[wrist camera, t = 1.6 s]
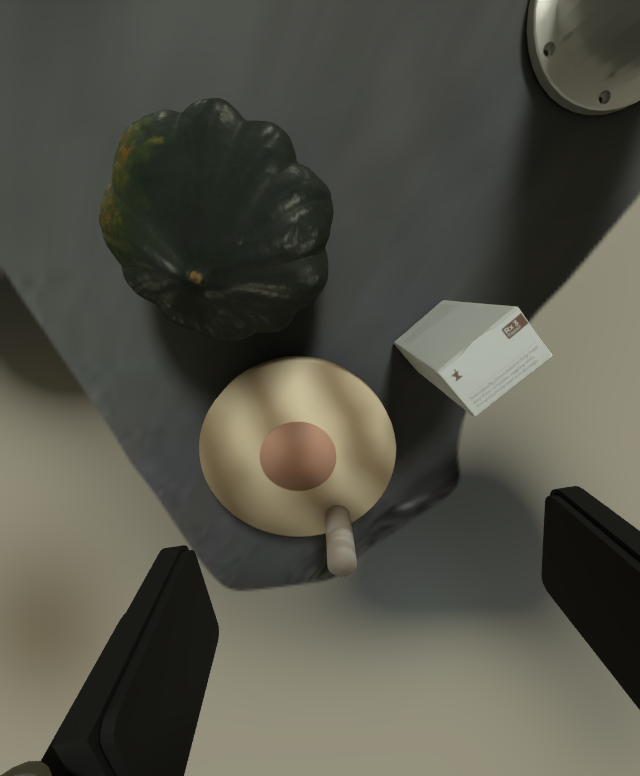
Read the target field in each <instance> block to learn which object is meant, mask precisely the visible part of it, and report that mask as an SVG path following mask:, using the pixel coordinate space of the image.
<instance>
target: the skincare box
mask: <svg viewBox="0 0 640 776" xmlns="http://www.w3.org/2000/svg"><path fill="white" fill-rule="evenodd" d="M394 345H395V346H396V347H397V348H398V349H399V351H400V352H401V353H402V354H403V355H404V357H405V358H406V359H407V360H408V361H409V362H410V364H411V365H412V366H413V367H414V368H415V369H416V370H417V372H418V373H420V374H421V375H423V376H424V377H425V378H426V379H428V380H429V381H430V382H431V383H432V384H434V385H435V386H436V387H437V388H439V389H440V390H441V391H442V392H443V393H445V394H446V395H447V396H448V397H450V398H451V399H452V400H453V401H454V402H456V403H457V404H458V405H460V406H461V407H462V408H463V409H464V410H466V411H467V412H468V413H469V414H471V415H472V416H474V417H475V416H477V415H478V414H480V413H481V412H482V411H484V410H485V409H486V408H487V407H489V406H490V405H491V404H492V403H494V402H495V401H496V400H497V399H499V398H500V397H501V396H503V395H504V394H505V393H506V392H508V391H509V390H510V389H511V388H512V387H514V386H515V385H516V384H518V383H519V382H520V381H522V380H523V379H524V378H525V377H527V376H528V375H529V374H531V373H532V372H533V371H534V370H536V369H537V368H538V367H540V366H541V365H542V364H543V363H545V362H546V361H547V360H548V359H550V358H551V357H552V356H553V355H552V353H551V352H550V351H549V349H548V348H547V346H546V345H545V344H544V342H543V341H542V340H541V338H540V337H539V336H538V334H537V333H536V332H535V330H534V329H533V327H532V326H531V325H530V323H529V322H528V320H527V319H526V318H525V316H524V315H523V313H522V312H521V310H520V309H519V308H518V307H516V306H504V305H491V304H480V303H469V302H457V301H446V300H443V301H441V302H440V303H439V304H438V305H437V306H436V307H434V308H433V309H432V310H431V311H430V312H429V313H427V314H426V315H425V316H424V317H423V318H422V319H420V320H419V321H418V322H417V323H416V324H415V325H413V326H412V327H411V328H410V329H409V330H408V331H407V332H405V333H404V334H403V335H402V336H401V337H399V338H398V339H397V340H396V341H395V342H394Z"/></svg>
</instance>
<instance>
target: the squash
mask: <svg viewBox="0 0 640 776" xmlns="http://www.w3.org/2000/svg"><path fill="white" fill-rule="evenodd" d="M333 212H334V211H333V204H332V200H331V193H330V191H329V189H328V187H327V185H326V184H325V183H324V182H323V181H322V180H321V179H320V178H318V177H317V176H316V174H315V173H313V172H312V171H311V170H310V169H309V168H308V167H305V166H303V165H301V164H299V163H298V162H297V160H296V154H295V151H294V148H293V145H292V142H291V140H290V137H289V136H288V134H287V133H286V132H285V131H284V130H283V129H281V128H280V127H279V126H278V125H276V124H274V123H271V122H266V121H246V120H245V119H244V118H243V117H242V116H241V114H240V113H239V112H238V111H237V110H236V109H235V108H234V107H233V106H232V105H231V104H230V103H228V102H227V101H225V100H223V99H220V98H211V99H204V100H200V101H197V102H195V103H193V104H191V105H190V106H189V107H187V108H186V109H185V110H184V111H183V112H182V113H179V112H176V111H172V110H163V111H159V112H155V113H151V114H149V115H146V116H144V117H143V118H142V119H140V120H138V121H136V122H134V123H132V124H131V125H130V126H129V127H128V128H127V129H126V130H125V131H124V133H123V134H122V136H121V139H120V142H119V145H118V148H117V151H116V154H115V159H114V163H113V173H112V182H111V183H110V185H109V186H108V187H107V189H106V190H105V193H104V196H103V200H102V202H101V204H100V208H99V223H100V226H101V228H102V236H103V238H104V240H105V243H106V245H107V247H108V248H109V249H110V251H111V252H112V254H113V255H114V256H115V258H116V259H117V260H118V262H119V263H120V264H121V266H122V271H123V275H124V277H125V280H126V282H127V283H128V285H129V286H130V287H131V288H132V289H133V291H134V292H135V293H136V294H138V295H139V296H140V297H142V298H144V299H146V300H148V301H150V302H152V303H155V304H157V306H158V307H159V309H160V310H161V311H162V312H163V314H164V315H165V316H166V317H167V318H169V319H170V320H171V321H172V322H174V323H176V324H179V325H181V326H184V327H187V328H189V329H193V330H197V331H199V332H200V333H202V334H204V335H206V336H208V337H211V338H214V339H216V340H221V341H238V340H241V339H244V338H247V337H249V336H251V335H252V334H254V333H275V332H278V331H281V330H283V329H285V328H286V327H287V326H288V325H289V324H290V322H291V321H292V320H293V318H294V316H295V315H296V312H297V311H299V310H301V309H304V308H305V307H306V306H308V305H309V304H311V303H312V302H313V301H314V300H315V299H316V297H317V296H318V295H319V293H320V292H321V291H322V290H323V288H324V287H325V285H326V282H327V278H328V258H327V253H326V250H325V246H326V243H327V241H328V238H329V235H330V228H331V223H332V219H333Z"/></svg>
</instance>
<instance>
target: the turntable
mask: <svg viewBox="0 0 640 776" xmlns="http://www.w3.org/2000/svg"><path fill="white" fill-rule="evenodd" d="M199 452H200V461H201V466H202V470H203V473H204V476H205V479H206V481H207V483H208V485H209V487H210V489H211V490H212V492H213V493H214V495H215V496H216V498H217V499H218V500H219V501H220V502H221V504H222V505H223V506H224V507H225V508H226V509H227V510H229V511H230V512H231V513H232V514H233V515H234V516H236V517H237V518H239V519H240V520H242V521H243V522H245V523H247V524H249V525H251V526H253V527H255V528H258V529H260V530H263V531H266V532H269V533H273V534H277V535H284V536H296V537H302V536H314V535H320V534H325V533H326V544H327V565H328V569H329V571H330V572H331V573H332V574H334V575H336V576H347V575H350V574H351V573H353V572H354V571H355V569H356V567H357V560H356V554H355V547H354V540H353V533H352V527H351V523H352V522H354V521H355V520H357V519H358V518H360V517H361V516H362V515H364V514H365V513H366V512H367V511H368V510H369V509H371V508H372V507H373V506H374V504H375V503H376V502H377V501H378V500H379V499H380V497H381V496H382V494H383V492H384V491H385V489H386V488H387V485H388V483H389V481H390V479H391V476H392V473H393V470H394V465H395V459H396V441H395V434H394V430H393V427H392V423H391V421H390V419H389V416H388V414H387V412H386V410H385V408H384V406H383V404H382V403H381V401H380V400H379V398H378V397H377V395H376V393H375V392H374V391H373V390H372V389H371V388H370V386H369V385H368V384H367V383H366V382H364V381H363V380H362V379H361V378H360V377H359V376H357V375H356V374H354V373H353V372H351V371H350V370H348V369H347V368H344V367H342V366H340V365H338V364H336V363H333V362H330V361H327V360H324V359H319V358H314V357H306V356H289V357H281V358H276V359H271V360H268V361H265V362H262V363H259V364H257V365H255V366H253V367H251V368H249V369H247V370H246V371H244V372H243V373H241V374H240V375H238V376H237V377H236V378H235V379H234V380H233V381H231V382H230V383H229V384H228V385H227V387H226V388H225V389H224V390H223V391H222V392H221V394H220V395H219V396H218V397H217V399H216V400H215V401H214V403H213V404H212V406H211V408H210V409H209V411H208V413H207V415H206V418H205V420H204V422H203V426H202V430H201V434H200V443H199Z"/></svg>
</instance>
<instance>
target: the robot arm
mask: <svg viewBox="0 0 640 776" xmlns="http://www.w3.org/2000/svg"><path fill="white" fill-rule="evenodd" d="M527 42H528V51H529V56H530V60H531V64H532V68H533V70H534V72H535V74H536V77H537V79H538V81H539V83H540V85H541V86H542V87H543V89H544V90H545V91H546V93H547V94H548V95H549V97H551V98H552V99H553V100H554V101H555V102H557V103H558V104H559V105H560V106H562V107H564V108H566V109H568V110H570V111H572V112H575V113H580V114H585V115H605V114H609V113H612V112H616V111H620V110H622V109H624V108H626V107H628V106H630V105H632V104H635V103H636V102H638V101H640V0H530V3H529V8H528V19H527ZM542 581H543V584H544V586H545V588H546V590H547V592H548V593H549V594H550V595H551V597H552V598H553V600H554V601H555V602H556V603H557V605H558V606H559V607H560V609H561V610H562V611H563V612H564V614H565V615H566V616H567V617H568V619H569V620H570V621H571V623H572V624H573V625H574V626H575V628H576V629H577V630H578V632H580V634H581V635H582V637H583V638H584V639H585V641H586V642H587V643H588V644H589V645H590V647H591V648H592V649H593V651H594V652H595V653H596V655H597V656H598V657H599V658H600V660H601V661H602V662H603V663H604V665H605V666H606V667H607V669H608V670H609V671H610V672H611V674H612V675H613V676H614V678H615V679H616V680H617V681H618V683H619V684H620V685H621V686H622V688H623V689H624V690H625V692H626V693H627V694H628V695H629V697H630V698H631V699H632V701H633V702H634V703H635V704H636V706H637V707H638V708H639V709H640V531H639V530H637V529H636V528H635V527H634V526H632V525H631V524H629V523H628V522H627V521H625V520H624V519H622V518H621V517H620V516H619V515H617V514H616V513H615V512H613V511H612V510H610V509H609V508H608V507H607V506H605V505H604V504H602V503H601V502H600V501H598V500H597V499H596V498H594V497H593V496H591V495H590V494H589V493H588V492H586V491H585V490H584V489H582V488H580V487H577V486H573V487H566V488H560V489H554V490H552V491H551V493H550V496H548V497H547V498H546V501H545V517H544V537H543V557H542ZM218 637H219V626H218V622H217V619H216V616H215V613H214V610H213V607H212V603H211V601H210V597H209V594H208V591H207V588H206V585H205V582H204V578H203V576H202V573H201V569H200V566H199V563H198V560H197V557H196V554H195V552H194V551H193V550H189V549H188V547H187V546H185V545H183V546H177V547H170V548H164V549H162V550H161V551H160V553H159V554H158V556H157V558H156V560H155V561H154V563H153V565H152V567H151V569H150V570H149V572H148V574H147V576H146V578H145V579H144V581H143V583H142V585H141V587H140V589H139V590H138V592H137V594H136V596H135V597H134V600H133V601H132V603H131V605H130V607H129V608H128V610H127V612H126V613H125V614H124V615H123V617H122V618H121V620H120V621H119V623H118V625H117V626H116V628H115V630H114V632H113V634H112V635H111V637H110V639H109V641H108V643H107V644H106V646H105V648H104V650H103V651H102V653H101V655H100V657H99V659H98V660H97V662H96V664H95V666H94V667H93V669H92V671H91V673H90V674H89V676H88V678H87V680H86V682H85V683H84V685H83V687H82V689H81V690H80V692H79V694H78V696H77V698H76V699H75V701H74V703H73V705H72V706H71V708H70V710H69V712H68V714H67V715H66V717H65V719H64V721H63V723H62V724H61V726H60V728H59V730H58V731H57V733H56V735H55V737H54V739H53V740H52V742H51V744H50V746H49V747H48V749H47V751H46V753H45V755H44V756H43V758H42V760H41V761H28V762H25V763H23V764H20V765H18V766H15V767H13V768H11V769H10V770H8V771H7V772H5V773H4V774H2V775H1V776H184V773H185V769H186V765H187V761H188V757H189V753H190V749H191V745H192V742H193V738H194V734H195V729H196V726H197V722H198V718H199V714H200V710H201V706H202V702H203V698H204V694H205V690H206V686H207V682H208V678H209V674H210V670H211V666H212V662H213V659H214V654H215V651H216V646H217V643H218Z"/></svg>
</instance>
